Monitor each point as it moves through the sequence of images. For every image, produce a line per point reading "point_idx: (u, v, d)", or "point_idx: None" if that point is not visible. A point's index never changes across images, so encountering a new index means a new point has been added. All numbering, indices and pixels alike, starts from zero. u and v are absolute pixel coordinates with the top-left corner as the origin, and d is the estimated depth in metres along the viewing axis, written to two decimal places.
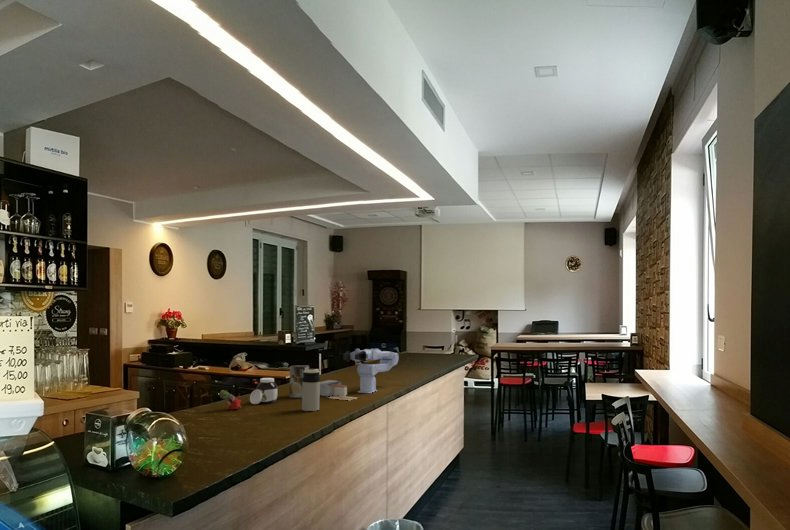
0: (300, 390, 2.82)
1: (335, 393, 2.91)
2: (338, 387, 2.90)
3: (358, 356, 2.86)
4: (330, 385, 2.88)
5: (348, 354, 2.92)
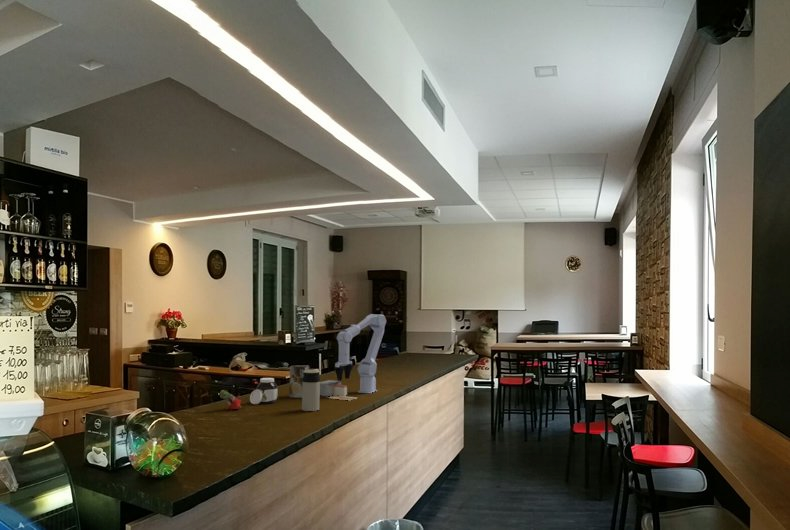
0: (300, 390, 2.82)
1: (335, 393, 2.91)
2: (338, 387, 2.90)
3: (339, 376, 2.87)
4: (330, 385, 2.88)
5: (345, 368, 2.95)
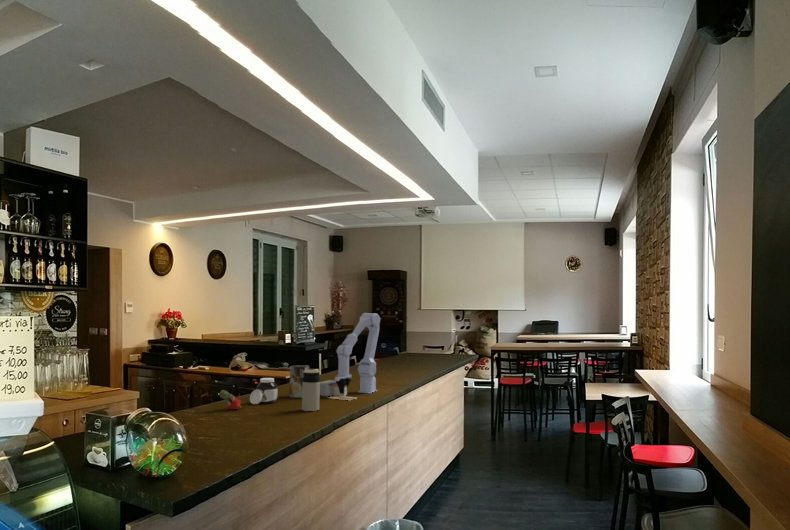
0: (300, 390, 2.82)
1: (335, 393, 2.91)
2: (338, 387, 2.90)
3: (341, 389, 2.88)
4: (330, 385, 2.88)
5: None
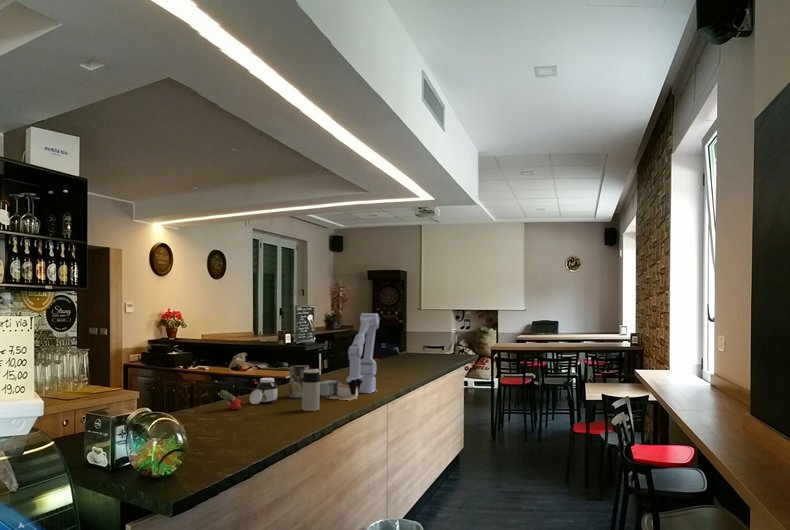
0: (300, 390, 2.82)
1: (346, 394, 2.88)
2: (349, 388, 2.87)
3: (352, 390, 2.85)
4: (330, 385, 2.88)
5: None
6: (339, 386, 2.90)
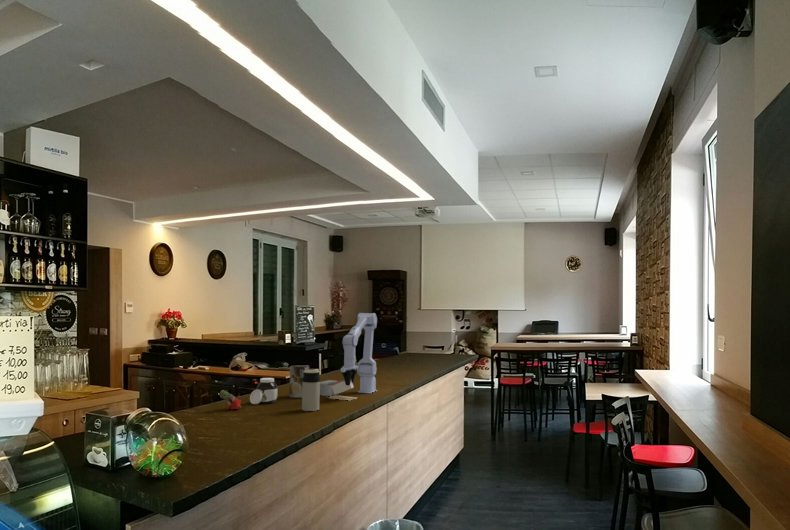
0: (300, 390, 2.82)
1: (342, 389, 2.80)
2: (342, 381, 2.81)
3: (347, 380, 2.79)
4: (330, 385, 2.88)
5: None
6: (333, 385, 2.83)
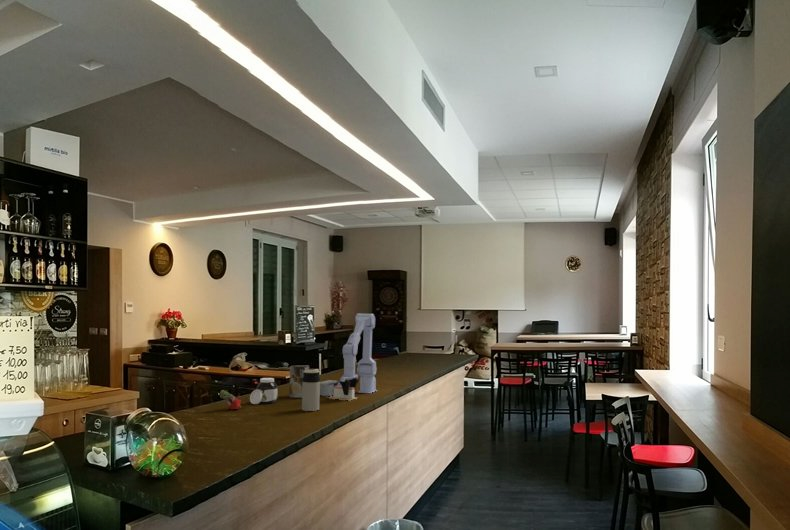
0: (300, 390, 2.82)
1: (342, 395, 2.80)
2: None
3: (345, 390, 2.77)
4: (330, 385, 2.88)
5: (350, 382, 2.83)
6: (335, 387, 2.82)
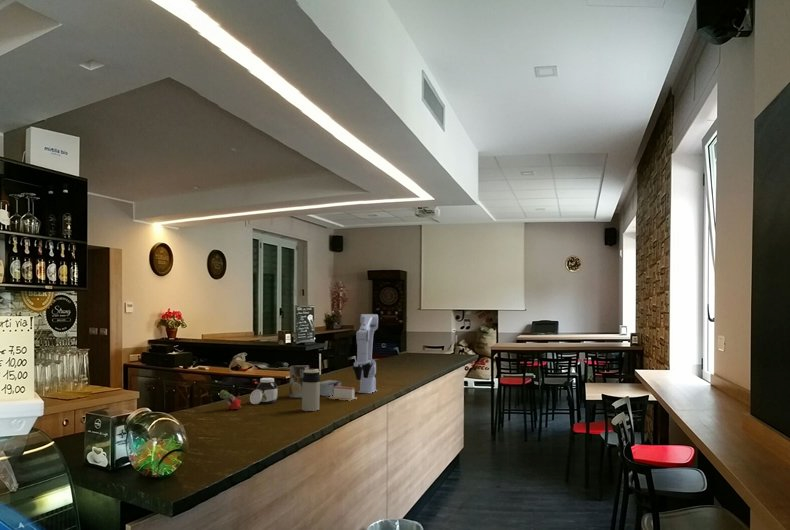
0: (300, 390, 2.82)
1: (342, 395, 2.80)
2: (345, 389, 2.79)
3: (357, 375, 2.82)
4: (330, 385, 2.88)
5: (364, 367, 2.90)
6: (335, 387, 2.82)
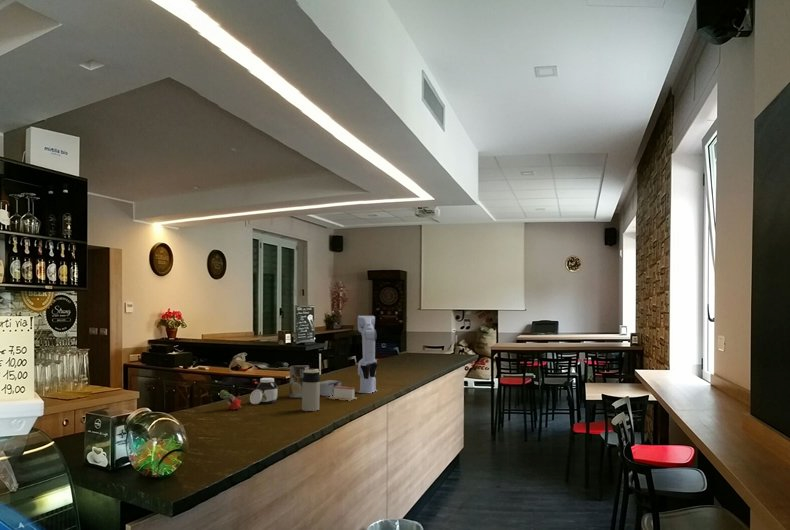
0: (300, 390, 2.82)
1: (342, 395, 2.80)
2: (345, 389, 2.79)
3: (365, 374, 2.85)
4: (330, 385, 2.88)
5: (370, 367, 2.92)
6: (335, 387, 2.82)
